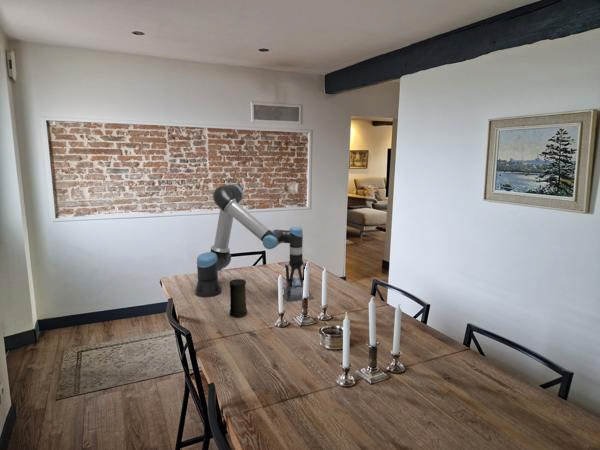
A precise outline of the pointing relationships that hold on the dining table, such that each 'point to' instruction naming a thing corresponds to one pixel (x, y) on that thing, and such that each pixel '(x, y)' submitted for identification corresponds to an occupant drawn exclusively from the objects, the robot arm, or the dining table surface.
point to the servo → (296, 282)
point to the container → (238, 298)
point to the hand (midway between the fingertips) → (296, 291)
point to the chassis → (294, 293)
